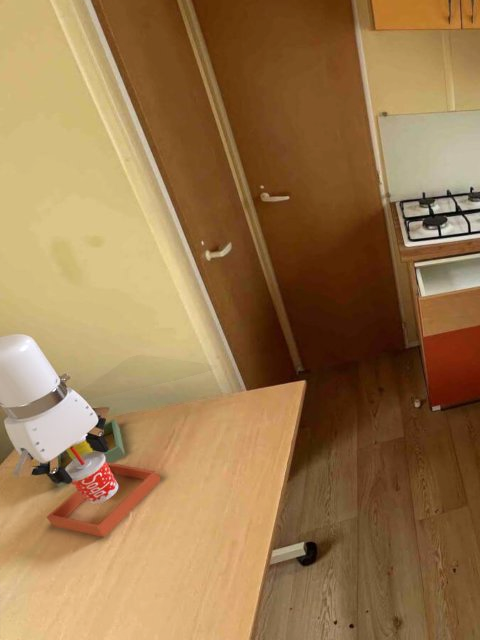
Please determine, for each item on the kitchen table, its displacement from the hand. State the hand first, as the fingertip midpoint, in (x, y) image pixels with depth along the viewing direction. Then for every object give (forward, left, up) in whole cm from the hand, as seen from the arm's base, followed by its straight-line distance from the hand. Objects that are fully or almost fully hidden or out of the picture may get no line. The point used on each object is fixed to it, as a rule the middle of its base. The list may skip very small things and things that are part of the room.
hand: (83, 464), depth 83 cm
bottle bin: (-16, +8, -12) cm, 22 cm away
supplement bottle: (-16, +8, -12) cm, 21 cm away
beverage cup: (0, 0, -9) cm, 9 cm away
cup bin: (0, 0, -12) cm, 12 cm away
